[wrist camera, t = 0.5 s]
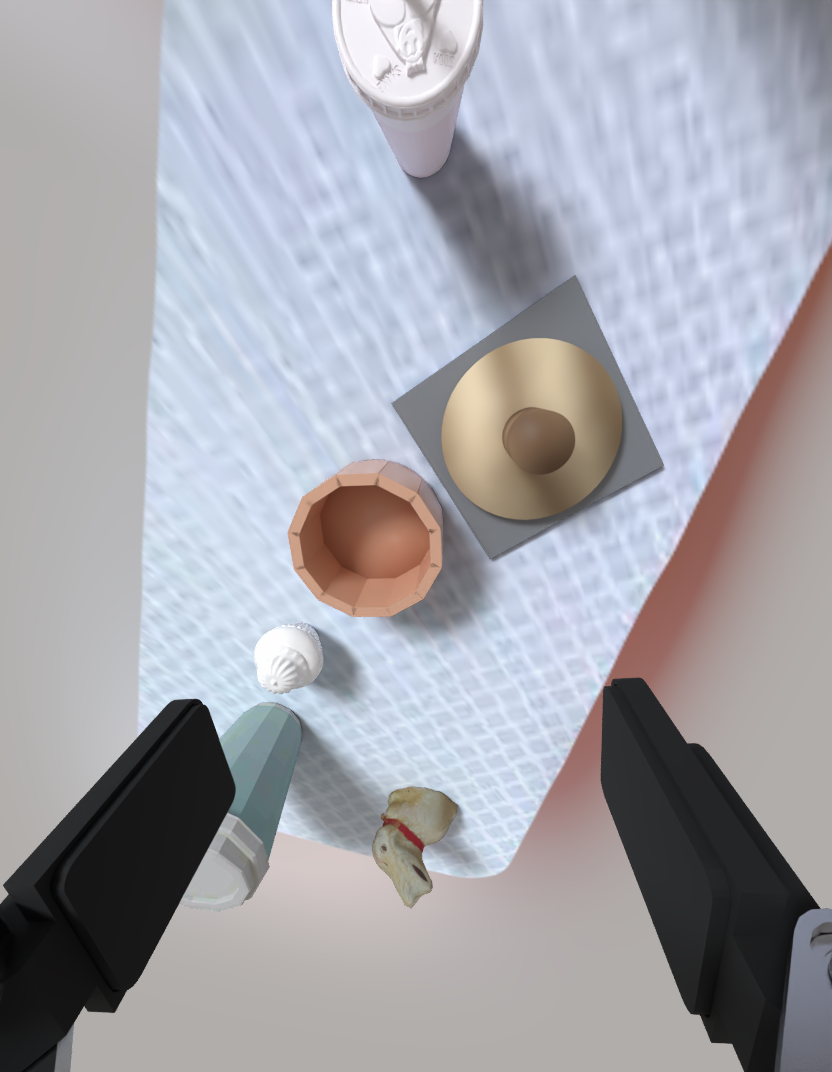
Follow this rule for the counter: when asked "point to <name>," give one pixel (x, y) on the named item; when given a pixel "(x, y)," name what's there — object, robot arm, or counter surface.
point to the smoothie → (410, 69)
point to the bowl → (369, 539)
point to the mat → (547, 318)
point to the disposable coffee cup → (248, 807)
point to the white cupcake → (288, 657)
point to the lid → (531, 428)
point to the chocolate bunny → (411, 838)
